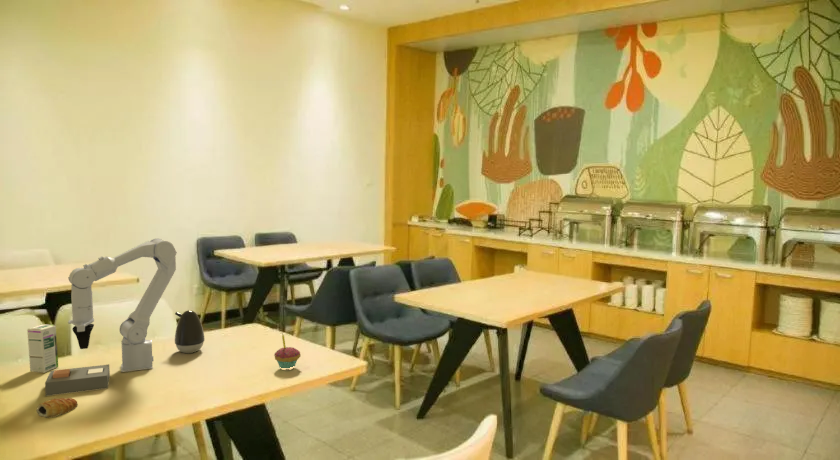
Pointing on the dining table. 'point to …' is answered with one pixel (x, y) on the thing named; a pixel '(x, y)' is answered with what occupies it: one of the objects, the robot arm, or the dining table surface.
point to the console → (78, 381)
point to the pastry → (56, 407)
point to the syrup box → (42, 348)
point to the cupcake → (287, 356)
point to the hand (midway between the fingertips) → (84, 348)
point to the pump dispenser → (189, 332)
